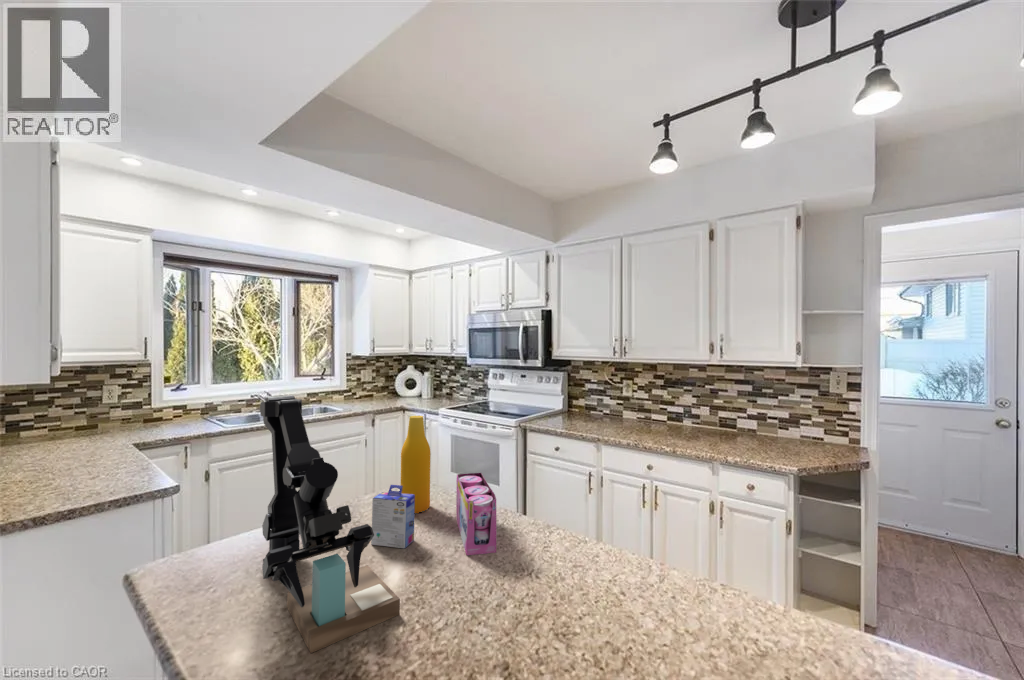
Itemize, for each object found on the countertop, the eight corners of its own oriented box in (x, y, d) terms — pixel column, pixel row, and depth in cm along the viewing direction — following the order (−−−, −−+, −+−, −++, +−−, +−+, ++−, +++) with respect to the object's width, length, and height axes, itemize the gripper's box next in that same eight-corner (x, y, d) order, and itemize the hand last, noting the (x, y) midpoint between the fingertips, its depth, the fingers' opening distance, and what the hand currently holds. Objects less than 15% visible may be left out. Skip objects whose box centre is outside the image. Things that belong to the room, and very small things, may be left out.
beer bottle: (416, 500, 140) (417, 413, 140) (436, 507, 134) (437, 416, 135) (393, 509, 132) (395, 417, 133) (413, 516, 127) (415, 420, 127)
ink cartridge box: (415, 539, 112) (416, 485, 112) (406, 549, 107) (406, 492, 107) (381, 536, 114) (382, 482, 114) (370, 545, 109) (371, 489, 109)
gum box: (498, 555, 104) (499, 500, 104) (466, 559, 102) (467, 503, 103) (481, 517, 128) (482, 472, 128) (455, 519, 126) (456, 473, 126)
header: (287, 607, 83) (287, 591, 83) (367, 578, 93) (367, 564, 93) (310, 653, 71) (311, 634, 71) (399, 614, 81) (399, 597, 81)
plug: (311, 629, 77) (312, 561, 77) (336, 619, 79) (337, 553, 80) (318, 642, 73) (319, 571, 73) (344, 631, 76) (345, 562, 76)
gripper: (266, 505, 74) (280, 598, 65) (371, 483, 86) (394, 559, 77) (257, 535, 80) (268, 624, 71) (356, 510, 92) (376, 584, 83)
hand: (330, 595), depth 76 cm, fingers open, 9 cm apart
